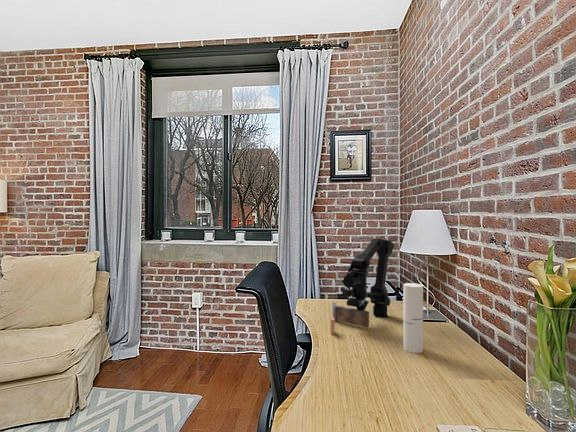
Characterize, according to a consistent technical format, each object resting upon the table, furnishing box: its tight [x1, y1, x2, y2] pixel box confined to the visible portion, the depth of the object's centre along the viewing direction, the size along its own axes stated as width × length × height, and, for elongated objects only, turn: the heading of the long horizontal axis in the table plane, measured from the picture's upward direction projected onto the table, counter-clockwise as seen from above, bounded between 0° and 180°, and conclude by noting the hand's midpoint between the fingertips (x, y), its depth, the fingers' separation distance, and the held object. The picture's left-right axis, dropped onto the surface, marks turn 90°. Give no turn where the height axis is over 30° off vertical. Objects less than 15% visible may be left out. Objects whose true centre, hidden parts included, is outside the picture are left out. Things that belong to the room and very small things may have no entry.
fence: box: [329, 302, 338, 335], centre depth 156 cm, size 4×27×8 cm, turn 176°
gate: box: [337, 305, 370, 328], centre depth 155 cm, size 16×2×7 cm, turn 52°
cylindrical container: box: [402, 282, 424, 354], centre depth 127 cm, size 7×7×25 cm
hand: (360, 316), depth 156 cm, fingers closed
